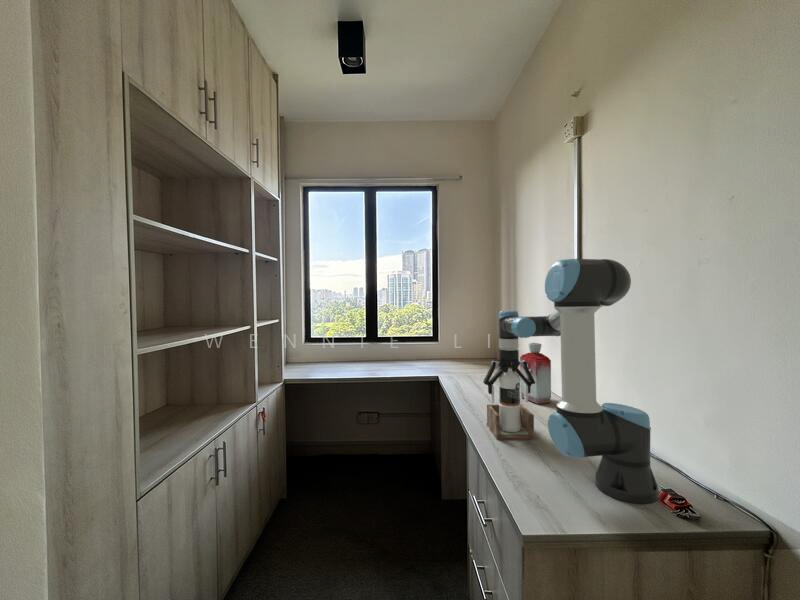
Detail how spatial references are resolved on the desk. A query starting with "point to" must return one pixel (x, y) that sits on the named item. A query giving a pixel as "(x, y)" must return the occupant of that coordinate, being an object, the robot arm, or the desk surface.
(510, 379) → the vodka
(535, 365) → the bottle
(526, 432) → the wooden box
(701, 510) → the desk surface
